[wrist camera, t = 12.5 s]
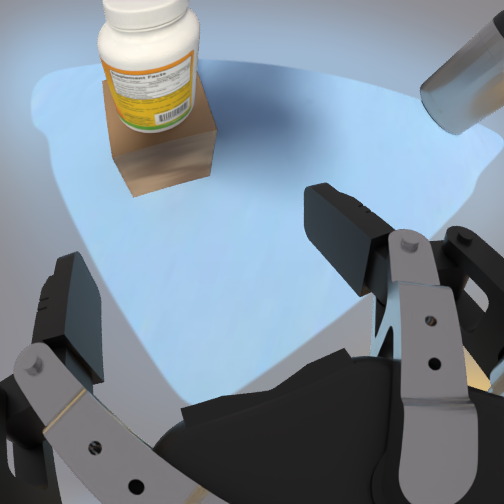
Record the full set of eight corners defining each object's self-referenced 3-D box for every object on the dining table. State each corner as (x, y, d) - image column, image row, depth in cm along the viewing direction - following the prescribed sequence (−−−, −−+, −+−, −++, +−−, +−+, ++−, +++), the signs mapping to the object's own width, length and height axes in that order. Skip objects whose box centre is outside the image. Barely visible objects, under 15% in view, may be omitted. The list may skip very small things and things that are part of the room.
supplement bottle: (135, 71, 19) (121, -35, 9) (204, 82, 19) (219, -29, 10) (105, 128, 17) (64, 21, 8) (181, 142, 18) (180, 25, 9)
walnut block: (190, 113, 27) (192, 58, 19) (209, 176, 27) (217, 129, 19) (120, 132, 26) (102, 81, 18) (133, 197, 25) (112, 158, 17)
